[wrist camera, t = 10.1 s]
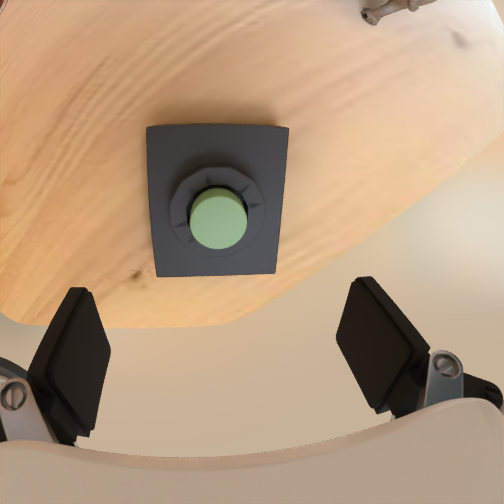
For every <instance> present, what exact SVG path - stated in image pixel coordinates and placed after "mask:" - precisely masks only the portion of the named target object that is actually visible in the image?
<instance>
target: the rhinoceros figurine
mask: <svg viewBox="0 0 504 504" xmlns="http://www.w3.org/2000/svg"><path fill="white" fill-rule="evenodd" d="M435 1H436V0H389V1H388V2H387V3H386V4H384V5H381V6H380V7H378V8H375V9H369V8H368V9H367V8H366V7H365V8H363V11H362V12H361V15H362V16H363V14H364V13H366V14H367V15H368V17H367V19H365V18H363V19H364V20H365V21H367V22H370V23H371V24H373V25H377V23H378V21H379V20H380V18H382V17H383V16H386V15H389V14H391V13H394V12H396V11H399V10H402V9H406V8H408V9H409V10H410V11H411V12H413V11H416V10H417V9H418V6H422V5H426V4H429V3H432V2H435Z"/></svg>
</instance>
